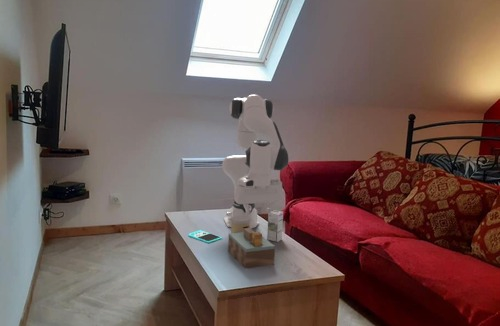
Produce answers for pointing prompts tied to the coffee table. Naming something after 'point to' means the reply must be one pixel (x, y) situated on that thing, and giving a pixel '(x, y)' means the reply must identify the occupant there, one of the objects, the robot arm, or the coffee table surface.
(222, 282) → the coffee table surface
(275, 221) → the syrup box
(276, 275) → the coffee table surface
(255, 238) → the wooden block
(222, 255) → the coffee table surface
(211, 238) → the handheld game console
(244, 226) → the coffee cup
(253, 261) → the toolbox
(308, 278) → the coffee table surface
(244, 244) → the toolbox lid
